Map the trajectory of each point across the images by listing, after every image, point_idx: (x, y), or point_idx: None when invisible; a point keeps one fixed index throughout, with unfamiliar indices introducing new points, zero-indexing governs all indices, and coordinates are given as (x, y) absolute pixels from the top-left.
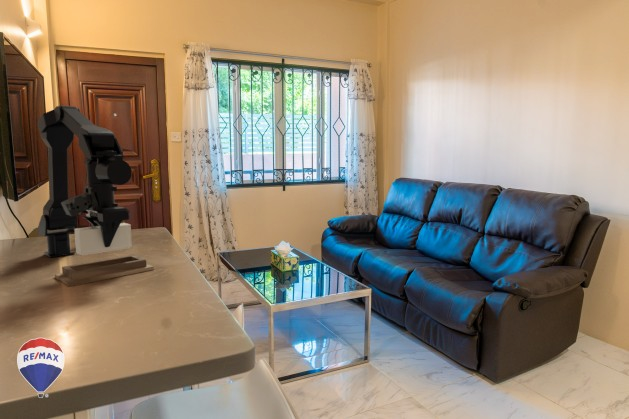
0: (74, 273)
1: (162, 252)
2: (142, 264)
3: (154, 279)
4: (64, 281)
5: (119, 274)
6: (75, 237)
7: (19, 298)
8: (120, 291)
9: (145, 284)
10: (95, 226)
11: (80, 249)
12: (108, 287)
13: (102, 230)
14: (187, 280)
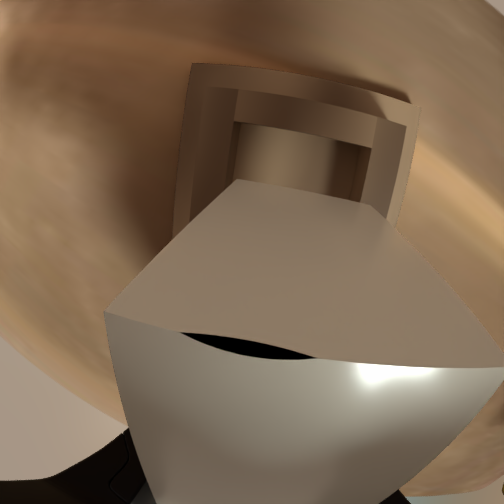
0: (205, 98)
1: None
2: None
3: (70, 320)
4: (259, 69)
5: None
6: (414, 265)
7: None
8: (21, 187)
9: (40, 274)
10: None
11: (232, 190)
12: (70, 179)
13: (95, 464)
14: (31, 345)
